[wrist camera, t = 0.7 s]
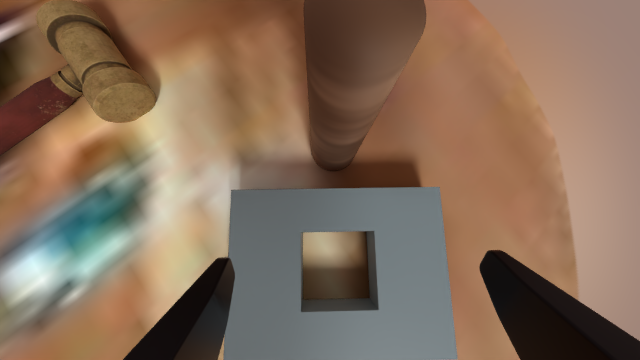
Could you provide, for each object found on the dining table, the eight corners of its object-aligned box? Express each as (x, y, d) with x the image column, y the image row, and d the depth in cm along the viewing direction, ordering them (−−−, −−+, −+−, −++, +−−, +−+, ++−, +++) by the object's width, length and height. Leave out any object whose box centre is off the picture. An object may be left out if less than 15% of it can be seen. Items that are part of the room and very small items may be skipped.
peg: (363, 150, 23) (451, 13, 8) (332, 180, 22) (366, 90, 8) (333, 120, 23) (363, -60, 9) (302, 148, 23) (278, 8, 8)
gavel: (-113, 245, 18) (-163, 140, 19) (-25, 239, 23) (-70, 154, 24) (129, 75, 19) (66, -14, 21) (167, 101, 24) (114, 27, 25)
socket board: (436, 339, 20) (457, 359, 17) (237, 345, 20) (223, 365, 17) (423, 191, 22) (439, 186, 19) (242, 194, 22) (231, 189, 19)
